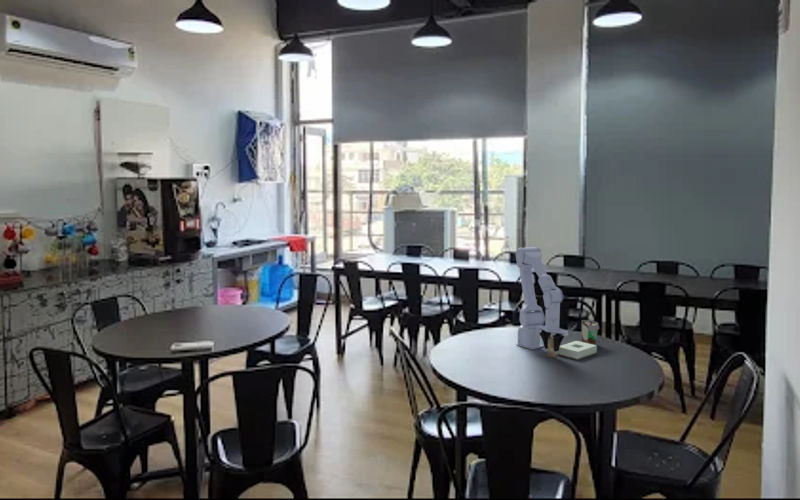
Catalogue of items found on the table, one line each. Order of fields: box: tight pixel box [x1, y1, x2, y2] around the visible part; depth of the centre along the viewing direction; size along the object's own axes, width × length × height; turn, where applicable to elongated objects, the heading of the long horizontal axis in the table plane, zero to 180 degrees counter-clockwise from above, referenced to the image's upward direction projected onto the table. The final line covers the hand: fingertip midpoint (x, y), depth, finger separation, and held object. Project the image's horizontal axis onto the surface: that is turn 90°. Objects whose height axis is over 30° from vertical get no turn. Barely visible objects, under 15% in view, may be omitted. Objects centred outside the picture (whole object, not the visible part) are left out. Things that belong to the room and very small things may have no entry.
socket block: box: [556, 340, 598, 361], centre depth 268 cm, size 10×14×4 cm
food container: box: [580, 319, 600, 345], centre depth 282 cm, size 12×6×10 cm, turn 179°
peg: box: [547, 336, 556, 359], centre depth 264 cm, size 3×3×8 cm
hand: (551, 349), depth 265 cm, fingers open, 4 cm apart
